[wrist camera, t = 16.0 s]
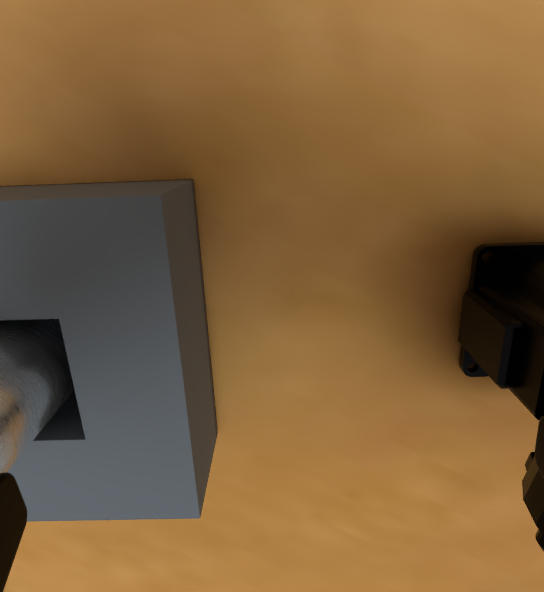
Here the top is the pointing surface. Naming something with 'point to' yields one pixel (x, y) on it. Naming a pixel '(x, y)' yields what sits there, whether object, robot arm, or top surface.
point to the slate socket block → (114, 347)
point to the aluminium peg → (30, 382)
